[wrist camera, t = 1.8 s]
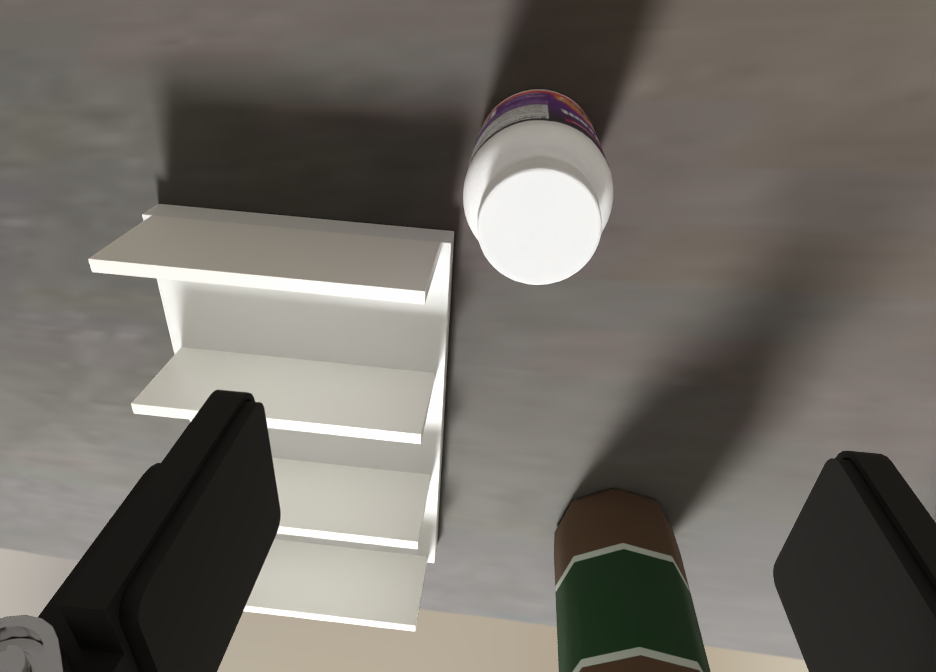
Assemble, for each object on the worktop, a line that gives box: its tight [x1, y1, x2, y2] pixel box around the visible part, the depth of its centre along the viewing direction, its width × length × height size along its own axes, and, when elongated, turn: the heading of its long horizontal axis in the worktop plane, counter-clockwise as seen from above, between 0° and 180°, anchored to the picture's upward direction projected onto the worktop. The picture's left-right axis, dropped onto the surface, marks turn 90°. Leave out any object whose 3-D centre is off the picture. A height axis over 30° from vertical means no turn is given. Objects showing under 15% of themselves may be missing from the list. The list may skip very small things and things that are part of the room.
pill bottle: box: [463, 89, 613, 285], centre depth 23 cm, size 5×5×10 cm
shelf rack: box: [88, 204, 454, 631], centre depth 34 cm, size 15×23×6 cm, turn 176°
